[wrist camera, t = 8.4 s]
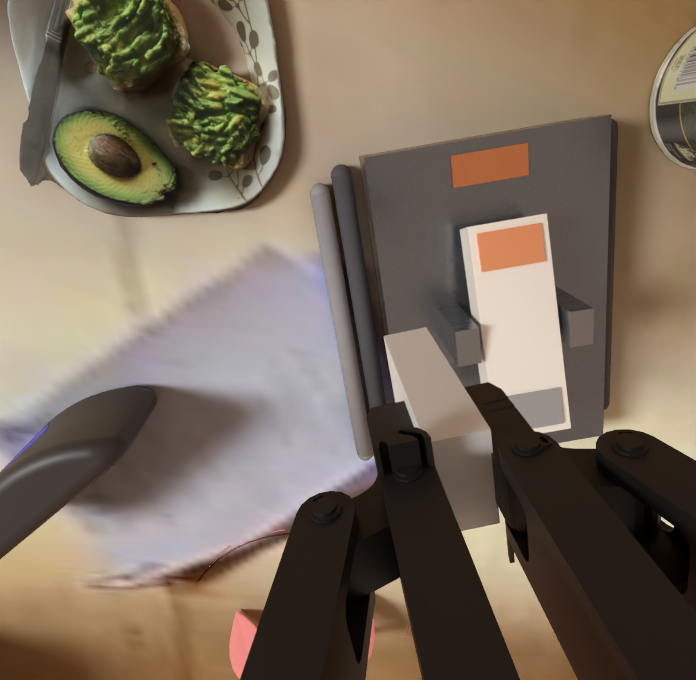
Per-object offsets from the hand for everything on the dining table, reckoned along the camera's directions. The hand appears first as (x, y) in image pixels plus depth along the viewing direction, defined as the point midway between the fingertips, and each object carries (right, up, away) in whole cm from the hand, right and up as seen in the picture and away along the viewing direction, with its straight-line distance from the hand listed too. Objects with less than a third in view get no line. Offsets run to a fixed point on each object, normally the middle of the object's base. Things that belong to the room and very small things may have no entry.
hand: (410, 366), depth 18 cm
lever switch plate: (+8, +4, +23) cm, 25 cm away
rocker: (+9, +2, +16) cm, 18 cm away
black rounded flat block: (-24, -8, +26) cm, 36 cm away
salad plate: (-15, +18, +17) cm, 29 cm away
